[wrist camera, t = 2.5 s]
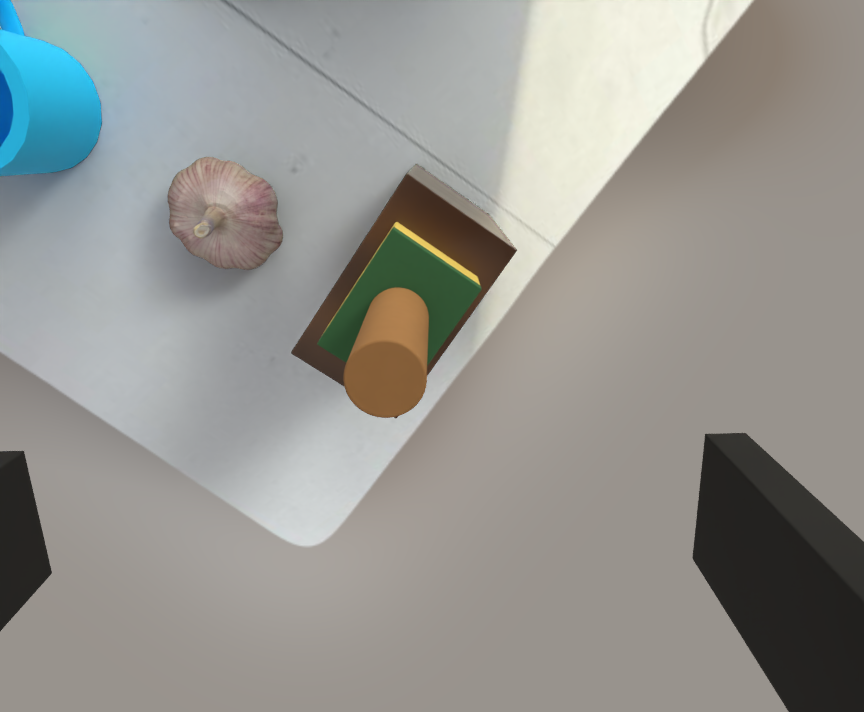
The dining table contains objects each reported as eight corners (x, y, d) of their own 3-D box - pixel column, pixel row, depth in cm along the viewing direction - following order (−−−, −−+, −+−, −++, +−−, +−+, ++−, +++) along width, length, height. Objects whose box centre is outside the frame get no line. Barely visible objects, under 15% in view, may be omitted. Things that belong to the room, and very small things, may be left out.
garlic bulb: (303, 250, 46) (278, 271, 39) (205, 280, 47) (161, 306, 39) (264, 140, 44) (229, 139, 37) (162, 173, 45) (106, 179, 37)
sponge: (396, 220, 30) (376, 259, 20) (478, 276, 31) (500, 342, 21) (326, 328, 31) (273, 416, 21) (406, 379, 32) (392, 487, 22)
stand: (416, 163, 45) (406, 172, 29) (489, 215, 46) (517, 250, 30) (337, 285, 47) (290, 353, 32) (408, 332, 48) (396, 419, 33)
